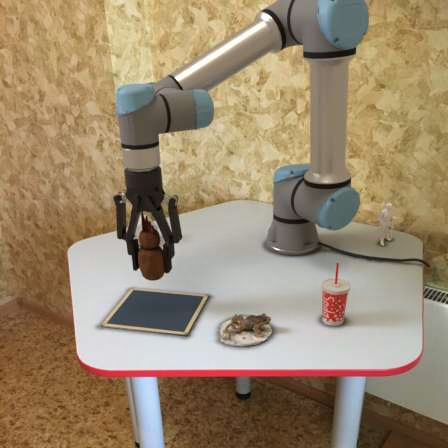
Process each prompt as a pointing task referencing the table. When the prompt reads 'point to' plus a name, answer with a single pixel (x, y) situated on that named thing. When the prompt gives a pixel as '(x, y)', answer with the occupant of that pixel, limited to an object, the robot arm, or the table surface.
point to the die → (139, 227)
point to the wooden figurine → (150, 252)
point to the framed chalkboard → (156, 311)
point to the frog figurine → (245, 330)
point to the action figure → (385, 223)
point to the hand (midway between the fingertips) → (152, 269)
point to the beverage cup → (334, 299)
